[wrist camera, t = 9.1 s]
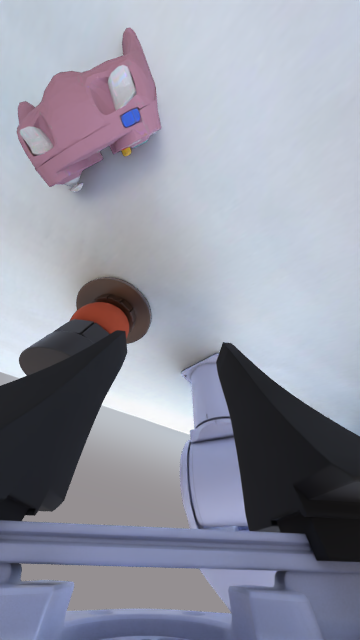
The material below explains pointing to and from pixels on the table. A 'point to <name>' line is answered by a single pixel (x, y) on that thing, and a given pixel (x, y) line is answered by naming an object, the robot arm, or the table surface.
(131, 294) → the ball stand
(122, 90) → the pink toy car
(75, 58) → the table surface
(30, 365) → the cap
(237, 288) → the table surface
